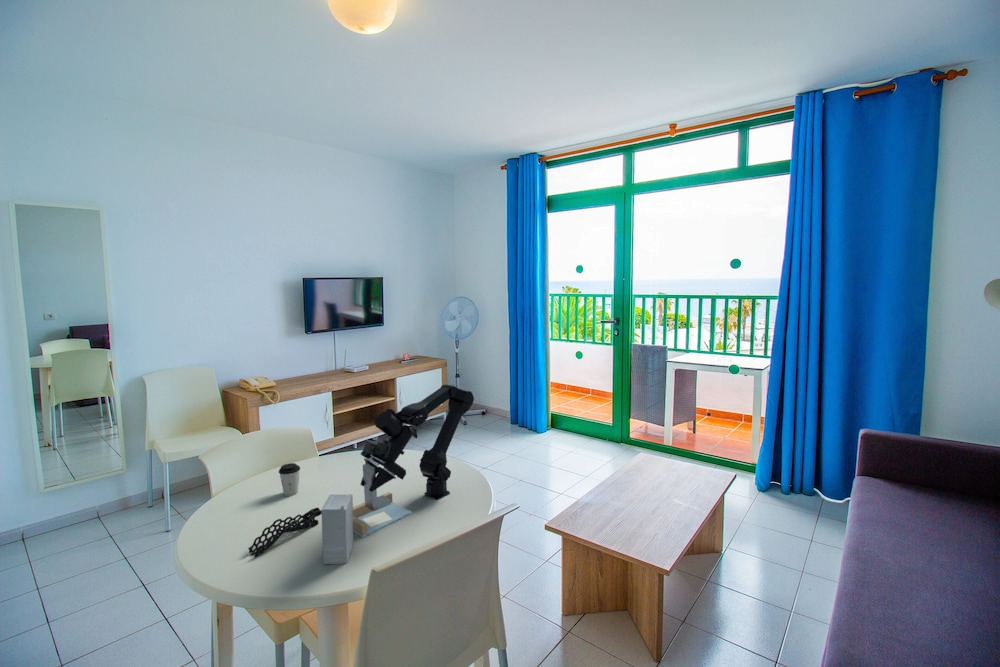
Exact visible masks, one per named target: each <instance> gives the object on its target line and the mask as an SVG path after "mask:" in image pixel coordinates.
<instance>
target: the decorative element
mask: <svg viewBox="0 0 1000 667" xmlns="http://www.w3.org/2000/svg"><path fill="white" fill-rule="evenodd" d="M319 516H322V511H321V509H320V507H315V508H312V509H310V510H309V511H307V512H305V513H304V514H300V513H299V514H297V515H296V516H294V517H292V516H288V517H286V518H285V519H282V518H279V519H278V518H277V519H276V520H274V521H273V523H272V524H271V525H270V526H266V527H264V528H263V530H262V531H261V532H262V533H261V535H260V536H257V537H256V538H254V540H253V543H252V545H251V546H249V547H248V548H247V549H248V550H249V551H248V554H250V556H251V555H252V556H253V557H254V556H255V558H256V557H258V556H260V555H261V554H263V553H264V552H266V551H267V550H268V549H270V547H272V546H274V544H275V543H276V542H277V541H278V540H279V538H281V536H282V535H284V534H285V533H292V532H297V531H302V530H305V529H308V528H310V527H316V526H318V525H319V520H318V519H315V518H317V517H319ZM277 522H279V523H277ZM282 524H283V525H282ZM272 528H273V530H271V529H272ZM266 531H267V532H266ZM269 534H271V535H270V536H269V537H268V535H269ZM263 537H264V539H263V540H262V538H263ZM259 544H261V545H259ZM254 554H255V555H254ZM259 554H260V555H259Z"/></svg>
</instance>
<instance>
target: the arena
mask: <svg viewBox="0 0 1000 667" xmlns="http://www.w3.org/2000/svg"><path fill="white" fill-rule="evenodd" d="M382 495H383V496H384V497H386V498H388V499H389V500H391V505H388V506H386V507H383V508H381V509H378V510H376V511H372V510H370V509H369V508H368V507H366V506H365V501H364V502H362V503H360V504H357V505H355V506H353V534H356V535H358V536H359V537H361V538H365V537H367V536H370V535H371V534H373V533H375V532H377V531H379V530H382V529H384V528H386V527H387V526H390V525H392V524H393V523H396V522H398V521H400V520H402V519H404V518H406V517H407V516H410V515H412V514H413V511H411V510H410V509H408V508H406V507H404V506H402V505H400V504H399V503H398V504H397V503H395V502H394V501H393V493H392V492H391V491H388V492H386V493H384V494H382ZM382 495H379V496H378V497H380V496H382Z"/></svg>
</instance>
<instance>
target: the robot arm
mask: <svg viewBox="0 0 1000 667" xmlns="http://www.w3.org/2000/svg"><path fill="white" fill-rule="evenodd" d="M474 400H475V397H474V394H473V393H472V391H470V390H464V389H461V388H459V387H457V386H455V385H451V384H442V385H441V386H440V388H438V389H436V390H435V391H433V392H432V393H430V394H429V395H428V396H426V397H424V398H423V399H422V400H421V401H418V402H414V403H411V404H408V405H406V406H404V407H402V408H401V409H400V410H399V411H397V412H395V410H394V409H393V408H388V407H387V409H386V410H385V411H383V412H381V413H380V414H379V415H377V416H376V418H375V421H374V426H375V427H376V428H377V429H379V431H381V432H383V434H384V435H386V436H387V437H388V439H382V441H373V440H367V439H366V440H365V443H364V446H363V449H362V451H361V452H360V455H361V456H362V457H363V458H364V459H363V460H364V462H365V463H364V464H369V465H371V466H372V467H374V468H375V473H376V478H375V480H374V481H373V483H372V485H371V487H370V489H369V491H371V492H373V491H374V490H377V489H378V488H381V487H382V486H383V485H384V484H386V483H389V482H390V481H392V480H396V478H398V479H401V480H404V478H405V477H406V475H407V470H406V469H405V468H404V467H403V466H400V464H398V463H397V462H396V461H397V460H398V458H399V457H400V455H402V456H404V455H405V451H404V449H405V447H406V446H407V445H408V443H409V442H410V440H411V439H412V438H414V439H418V431H417V429H416V428H415V427H417V428H418V427H420V426H422V425H423V424H424V423H425V421H427V419H428V418H429V415H430V413H431V412H433V411H434V410H436V409H437V408H439V407H440V406H441V405H442V404H444V403H446V402H447V401H448V402H447V403H448V412H447V415H446V416H445V419H444V422H443V423H442V426H441V429H440V430H439V432H438V434H437V438H436V440H435V442H434V443H433V446H432V447H431V448H430V449H429V450H428V449H425V450H424V451H423V454H422V457H421V458H420V460H419V461H420V462H419V469H420V470H419V471H420V472H421V474H422V476H423V477H424V478H426V484H425V486H426V487H425V489H426V490H425V492H424V493H423V494H425V495H424V496H427V497H429V498H432V499H433V500H439V499H441V498H444V497H445V496H447V495H449V494H451V492H450V491H449V490H448V489H447V486H448V485H447V481H448V479H450V478H451V474H452V470H450V469H449V468H448V467H447V463H448V460H447V452H448V449H449V447H450V444H451V443H452V440H453V437H454V434H455V433H456V430H457V429H458V425H459V423H460V421H461V418H462V417H463V415H465V414H466V413H467V412H468V411H470V409H471V407H472V405H473V403H474ZM410 426H412V427H410ZM413 427H414V428H413ZM379 465H380V466H379ZM381 466H382V467H383V468H382V467H381ZM360 486H362V487H364V479H363V477H361V481H360ZM448 493H449V494H448ZM446 494H447V495H446ZM444 495H445V496H444Z"/></svg>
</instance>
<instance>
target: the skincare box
mask: <svg viewBox="0 0 1000 667" xmlns="http://www.w3.org/2000/svg"><path fill="white" fill-rule="evenodd" d="M353 500H354V499H353V494H349V493H348V494H330V495H329V496H328V498H327V499H326V501H325V502H324V504H323V506H322V507H321V509H320V510H321V511H322V514H321V543H322V564H323V565H340V564H347V563H348V561H349V558H350V556H351V553H352V550H353V547H354V532H353V507H354V503H353V502H354V501H353Z"/></svg>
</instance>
